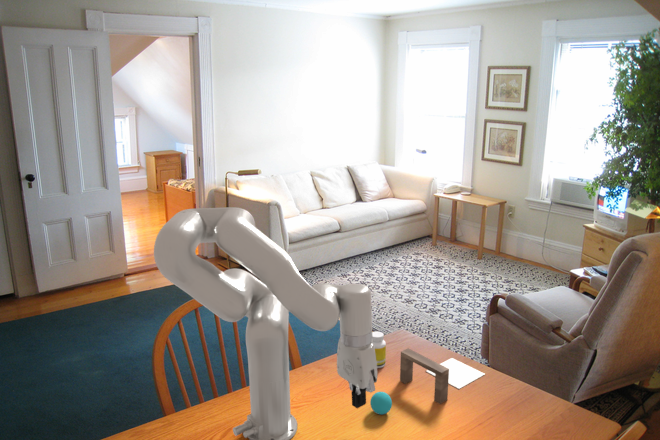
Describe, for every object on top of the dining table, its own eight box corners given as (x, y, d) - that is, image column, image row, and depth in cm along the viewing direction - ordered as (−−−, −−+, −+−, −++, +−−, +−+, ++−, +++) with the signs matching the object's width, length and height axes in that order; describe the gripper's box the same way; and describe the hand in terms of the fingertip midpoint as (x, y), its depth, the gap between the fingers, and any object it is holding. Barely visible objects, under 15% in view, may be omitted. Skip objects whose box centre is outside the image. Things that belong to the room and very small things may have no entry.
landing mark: (458, 389, 145) (459, 388, 145) (425, 371, 154) (425, 370, 154) (485, 374, 152) (485, 373, 152) (451, 358, 161) (451, 357, 161)
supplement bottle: (388, 362, 159) (389, 332, 157) (380, 370, 155) (381, 340, 152) (372, 357, 162) (373, 328, 159) (364, 365, 157) (364, 335, 155)
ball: (380, 421, 131) (381, 402, 130) (365, 411, 135) (366, 392, 134) (396, 413, 134) (396, 394, 133) (381, 403, 138) (381, 385, 137)
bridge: (440, 404, 138) (441, 372, 136) (399, 380, 149) (400, 351, 147) (447, 399, 140) (449, 368, 137) (407, 377, 151) (408, 348, 148)
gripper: (324, 331, 127) (328, 398, 131) (366, 353, 115) (368, 425, 120) (347, 321, 131) (350, 386, 136) (390, 341, 120) (392, 412, 124)
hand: (359, 404), depth 128 cm, fingers closed
